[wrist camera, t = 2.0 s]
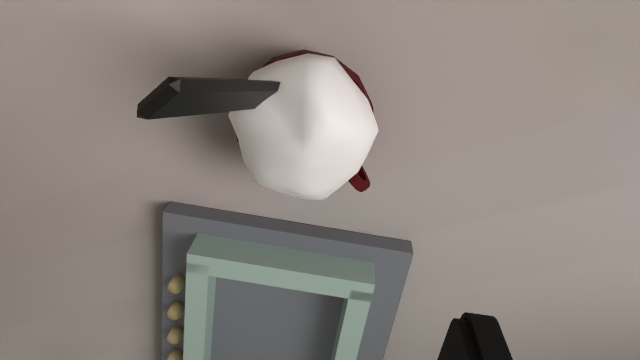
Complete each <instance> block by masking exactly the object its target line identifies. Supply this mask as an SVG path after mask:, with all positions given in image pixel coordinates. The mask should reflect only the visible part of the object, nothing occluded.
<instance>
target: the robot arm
mask: <svg viewBox="0 0 640 360" xmlns="http://www.w3.org/2000/svg"><path fill="white" fill-rule="evenodd" d="M437 360H513V359H512V357H511V354H510V352H509V349H508V346H507V344H506V341H505V339H504V336H503V334H502V331H501V328H500V326H499V323H498V321H497V319H496V318H495V317H493V316H487V315H480V314H474V313H467V312H466V313H464V314H463V315H462V316H461V318H460V319H456V318H454V319H453V320H452V321H451V323H450V326H449V329H448V332H447V335H446V337H445V340H444V343H443V346H442V348H441V351H440V354H439V357H438V359H437Z"/></svg>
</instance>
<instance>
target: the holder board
mask: <svg viewBox="0 0 640 360" xmlns="http://www.w3.org/2000/svg"><path fill="white" fill-rule="evenodd" d="M412 256H413V249H412V244H411V241H405V240H399V239H393V238H387V237H381V236H375V235H369V234H363V233H357V232H351V231H345V230H339V229H333V228H327V227H321V226H315V225H309V224H303V223H297V222H291V221H284V220H278V219H272V218H266V217H260V216H254V215H248V214H242V213H236V212H230V211H224V210H218V209H212V208H206V207H200V206H194V205H188V204H182V203H176V202H169V204H168V205H167V207H166V208H165V209H164V211H163V232H162V360H383V357H384V353H385V350H386V346H387V343H388V340H389V336H390V333H391V329H392V326H393V322H394V319H395V315H396V312H397V308H398V305H399V301H400V298H401V294H402V291H403V287H404V284H405V280H406V277H407V273H408V270H409V267H410V263H411V260H412Z"/></svg>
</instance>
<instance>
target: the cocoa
mask: <svg viewBox="0 0 640 360" xmlns="http://www.w3.org/2000/svg"><path fill="white" fill-rule="evenodd" d="M220 112H229V115H228V116H229V119H230V121H231V123H232V126H233V128H234V130H235V133H236V135H237V141H238V142H239V145H240V149H241V153H242V157H243V161H244V163H245V164H246V166H247V168H248V170H249V172H250V173H251V175H252V177H253V179H254V181H255V182H256V183H257V184H259V185H261V186H263V187H266V188H268V189H270V190H273V191H275V192H279V193H282V194H286V195H289V196H292V197H296V198H299V199H302V200H324V199H326V198H327V197H328V196H329V195H331V194H332V193H333V192H334V191H336V190H337V189H338V188H340V187H341V186H342V185H343V184H344V183H346V182H347V181H349V182H350V183H351V185H352V186H353V187H354V188H355V189H356V190H358V191H359V192H363V191H365V190H366V189H367V188H369V186H370V181H369V179H368V177H367V174H366V172H365V170H364V168H363V167H362V164H363V162H364V160H365V159H366V157H367V155H368V153H369V150H370V148H371V146H372V144H373V142H374V139H375V137H376V135H377V133H378V127H377V123H376V121H375V118H374V115H373V106H372V103H371V100H370V98H369V96H368V94H367V92H366V90H365V88H364V86H363V84H362V82H361V80H360V78H359V76H358V75H357V74H356V73H354V72H353V71H352V70H351V69H349V68H348V67H347V66H345V65H344V64H343V63H342V62H340V61H339V60H338V59H336V58H335V57H334V56H331V55H326V54H322V53H317V52H312V51H308V50H300V51H296V52H292V53H288V54H284V55H280V56H277V57H273V58H272V59H270V60H269V61H268V62H267V63H266V64H265V65H264V66H262V67H261V68H260V69H258V70H256V71H254V72H252V74H251V75H250V76H249V78H248V79H247V80H244V79H217V78H191V77H168V78H167V79H166V80H165V81H163V82H162V83H161V84H160V85H159V86H158V87H157V88H156V89H154V90H153V91H152V92H151V93H150V94H149V95H148V96H147V97H145V98H144V99H143V100H142V101H141V102H140V103H139V104H138V108H137V117H138V118H143V119H148V120H149V119H159V118H169V117H179V116H189V115H199V114H209V113H220Z"/></svg>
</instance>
